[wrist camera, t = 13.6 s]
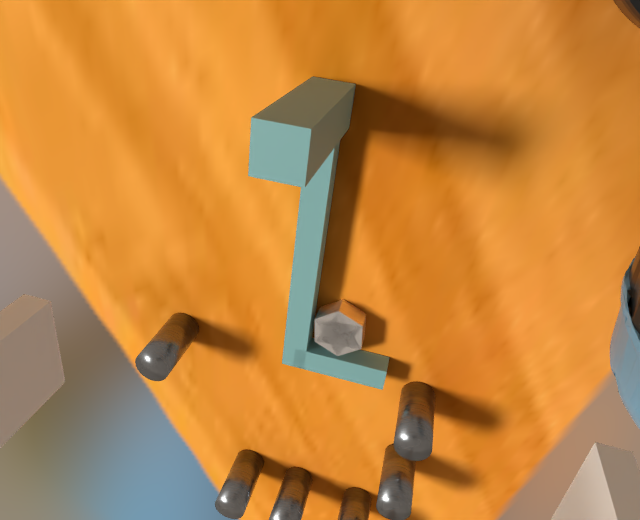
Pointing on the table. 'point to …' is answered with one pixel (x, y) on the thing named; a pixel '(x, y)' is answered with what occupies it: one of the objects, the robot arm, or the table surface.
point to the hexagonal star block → (340, 327)
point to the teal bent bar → (310, 211)
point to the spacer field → (295, 487)
